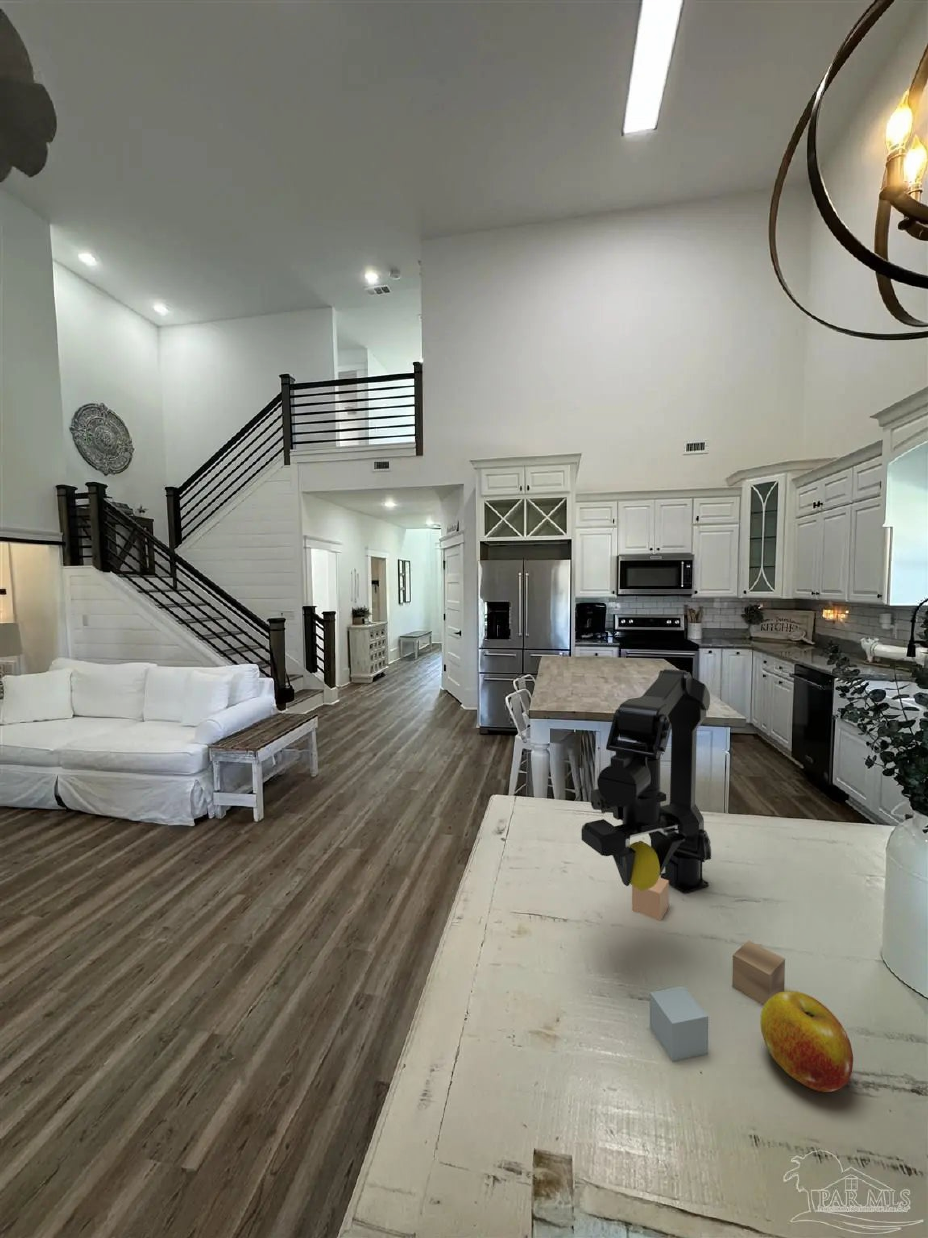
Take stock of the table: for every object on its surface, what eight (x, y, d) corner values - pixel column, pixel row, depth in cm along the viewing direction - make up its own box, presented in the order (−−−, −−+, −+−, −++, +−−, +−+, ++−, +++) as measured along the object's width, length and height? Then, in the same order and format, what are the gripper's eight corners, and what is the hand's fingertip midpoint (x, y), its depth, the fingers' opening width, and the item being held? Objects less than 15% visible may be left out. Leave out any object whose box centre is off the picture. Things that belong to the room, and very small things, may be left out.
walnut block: (748, 971, 78) (748, 940, 77) (784, 992, 74) (785, 959, 73) (732, 987, 75) (732, 954, 74) (769, 1009, 71) (769, 975, 70)
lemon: (662, 903, 77) (662, 851, 77) (624, 899, 78) (624, 848, 78) (656, 882, 83) (656, 834, 82) (621, 879, 84) (621, 831, 83)
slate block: (683, 1021, 69) (683, 986, 69) (707, 1054, 64) (708, 1016, 64) (649, 1028, 68) (649, 992, 68) (672, 1062, 63) (672, 1023, 63)
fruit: (874, 1101, 58) (876, 1034, 57) (805, 1117, 56) (807, 1048, 56) (804, 1030, 67) (805, 972, 67) (743, 1042, 66) (744, 982, 65)
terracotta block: (641, 897, 97) (641, 871, 96) (668, 907, 94) (668, 880, 93) (632, 910, 93) (632, 884, 93) (660, 921, 90) (660, 893, 89)
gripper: (651, 759, 91) (651, 845, 91) (561, 776, 84) (562, 868, 85) (702, 781, 80) (701, 877, 81) (603, 801, 73) (604, 906, 74)
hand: (640, 880), depth 81 cm, fingers closed on lemon, 5 cm apart
